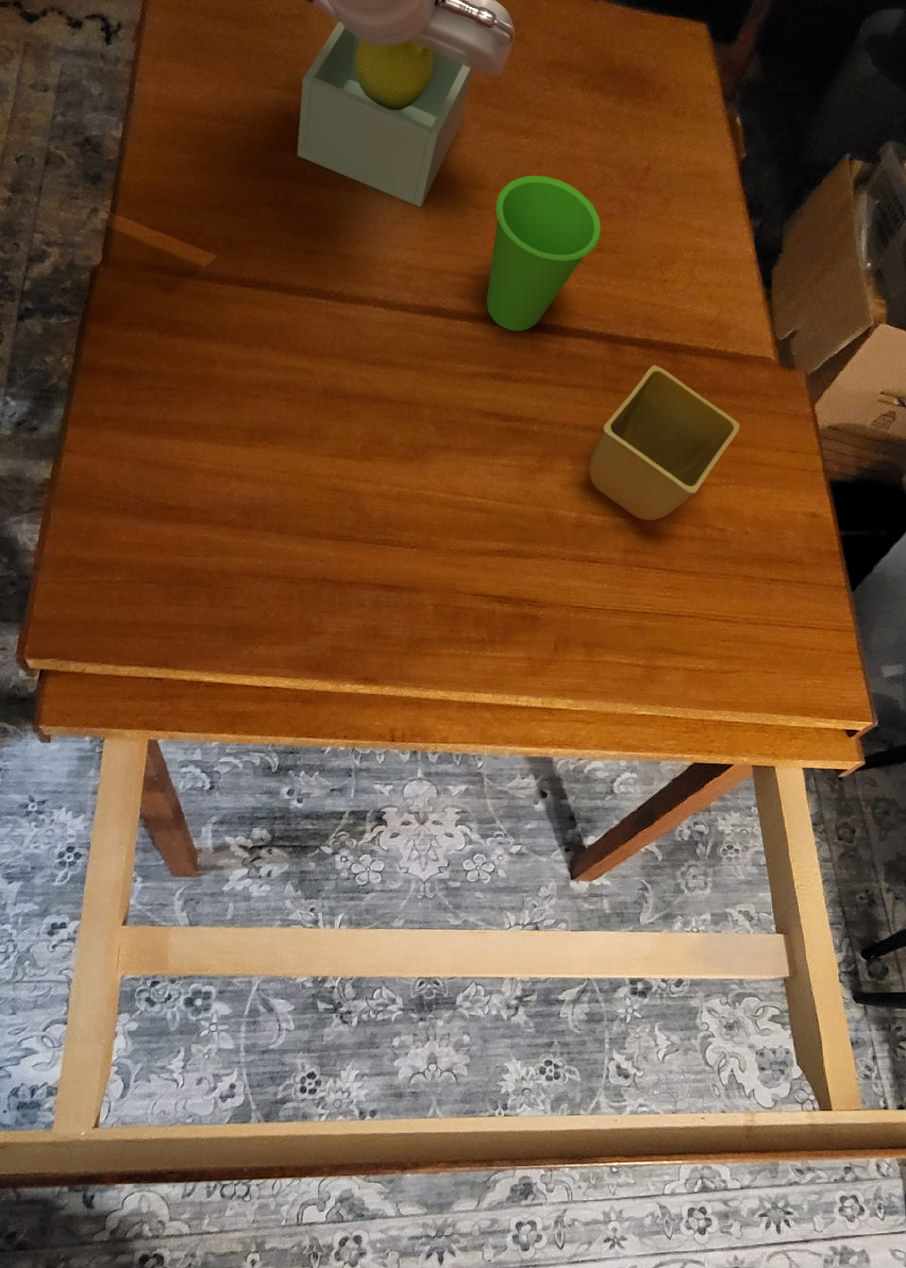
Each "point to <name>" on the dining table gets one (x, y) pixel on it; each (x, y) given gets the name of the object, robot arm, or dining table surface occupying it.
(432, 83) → the bin
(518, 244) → the cup
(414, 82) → the fruit
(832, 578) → the dining table surface
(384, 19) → the robot arm
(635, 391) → the flower pot
